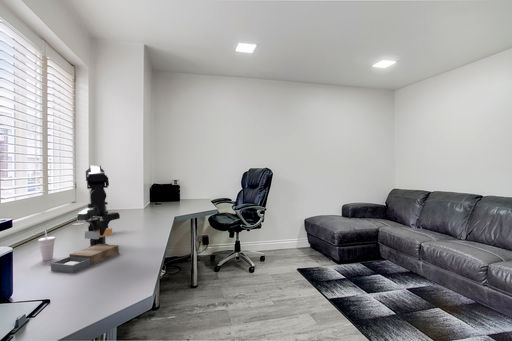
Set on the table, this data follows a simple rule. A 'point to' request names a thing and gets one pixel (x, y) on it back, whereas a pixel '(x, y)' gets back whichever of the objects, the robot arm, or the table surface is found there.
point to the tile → (72, 263)
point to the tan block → (97, 252)
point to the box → (64, 267)
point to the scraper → (97, 234)
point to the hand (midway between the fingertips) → (99, 235)
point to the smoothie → (47, 246)
